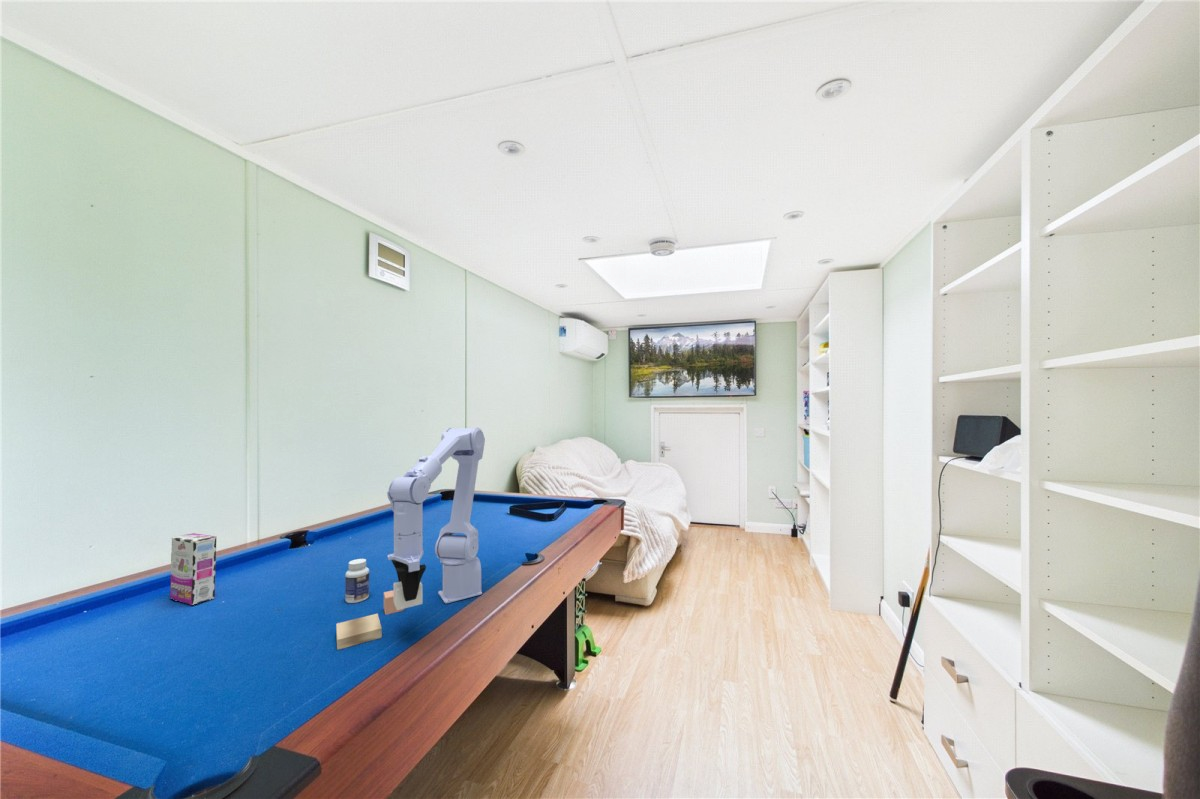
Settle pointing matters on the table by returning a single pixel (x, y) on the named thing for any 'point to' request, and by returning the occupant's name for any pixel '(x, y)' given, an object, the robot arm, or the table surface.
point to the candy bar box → (193, 568)
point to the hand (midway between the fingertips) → (408, 595)
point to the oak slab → (358, 631)
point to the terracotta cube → (390, 603)
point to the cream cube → (400, 599)
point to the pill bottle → (357, 581)
